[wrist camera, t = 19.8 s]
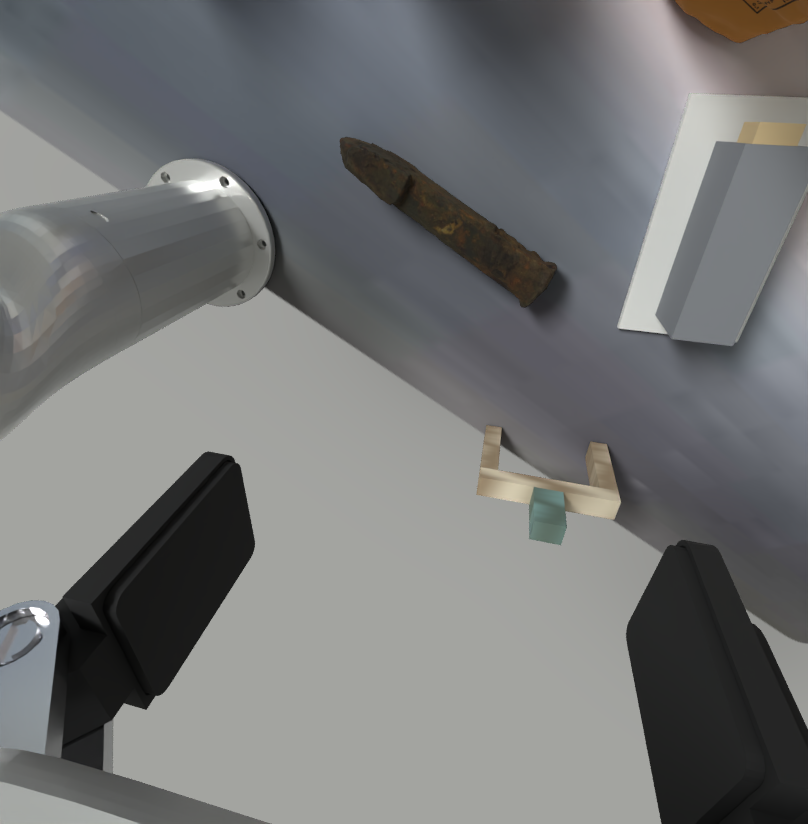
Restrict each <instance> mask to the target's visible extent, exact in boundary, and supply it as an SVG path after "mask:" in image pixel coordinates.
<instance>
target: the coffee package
mask: <svg viewBox="0 0 808 824" xmlns="http://www.w3.org/2000/svg"><path fill="white" fill-rule="evenodd" d="M675 1H676V3H677V4H678V5H679V6H680V8H681V9H682V10H683V11H684V12H685V13H686V14H688V15H691V16H693V17H695V18H697V19H698V20H699V21H700V22H701V23H702V24H703V25H705V26H707V27H708V28H710V29H711V30H713V31H714V32H716V33H718V34H721V35H723V36H725V37H726V38H728V39H730V40H731V41H734V42H736V43H741V42H744V41H747V40H749V39H751V38H754V37H756V36H759V35H761V34H768V33H770V32H773V31H775V30H777V29H781V28H784V27H787V26H790V25H792V24H801V23H804V22H806V21H807V20H808V0H675Z"/></svg>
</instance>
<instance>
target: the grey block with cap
mask: <svg viewBox="0 0 808 824" xmlns="http://www.w3.org/2000/svg"><path fill="white" fill-rule="evenodd" d="M806 125H807V124H797V123H774V122H744V124H743V127H742V130H741V132H740V135H739V138H738V140H737V142H723V141H716V143H715V146H714V148H713V151H712V154H711V157H710V160H709V163H708V166H707V168H706V171H705V174H704V177H703V180H702V183H701V186H700V188H699V191H698V194H697V197H696V200H695V203H694V205H693V208H692V211H691V214H690V217H689V220H688V223H687V225H686V228H685V231H684V234H683V237H682V240H681V243H680V245H679V248H678V251H677V254H676V257H675V260H674V263H673V265H672V268H671V271H670V274H669V277H668V280H667V283H666V285H665V288H664V291H663V294H662V297H661V300H660V303H659V305H658V308H657V311H656V314H655V315H656V317H657V318H658V320H659V321H660V323H661V324H662V326H663V327H664V329H665V330H666V332H667V333H668V335H669V336H670V338H671V339H676V340H685V341H693V342H701V343H710V344H718V345H727V346H733V345H734V342H735V340H736V338H737V336H738V334H739V332H740V330H741V327H742V325H743V323H744V321H745V319H746V317H747V314H748V312H749V310H750V308H751V306H752V304H753V301H754V299H755V297H756V295H757V293H758V291H759V289H760V286H761V284H762V282H763V280H764V278H765V276H766V273H767V271H768V269H769V267H770V265H771V263H772V260H773V258H774V256H775V254H776V252H777V250H778V247H779V245H780V243H781V241H782V239H783V237H784V235H785V232H786V230H787V228H788V226H789V224H790V222H791V219H792V217H793V215H794V213H795V211H796V209H797V206H798V204H799V202H800V200H801V198H802V196H803V194H804V191H805V189H806V187H807V185H808V147H806V146H798V143H799V141H800V139H801V136H802V134H803V132H804V129H805V127H806Z"/></svg>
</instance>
